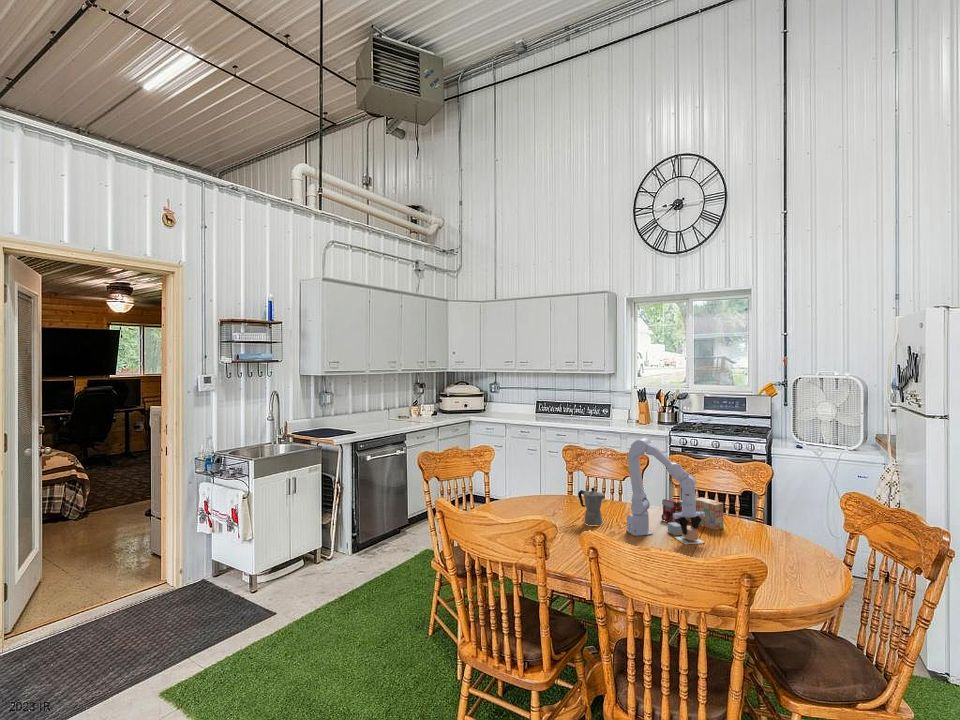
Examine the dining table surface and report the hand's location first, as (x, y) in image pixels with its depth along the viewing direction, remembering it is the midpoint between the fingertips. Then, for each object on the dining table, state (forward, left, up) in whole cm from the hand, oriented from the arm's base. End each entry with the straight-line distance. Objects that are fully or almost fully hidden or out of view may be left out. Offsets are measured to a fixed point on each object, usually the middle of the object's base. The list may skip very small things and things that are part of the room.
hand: (689, 533), depth 224 cm
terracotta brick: (0, 0, -2) cm, 2 cm away
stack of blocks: (+20, +22, -4) cm, 30 cm away
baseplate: (0, 0, -3) cm, 3 cm away
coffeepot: (-33, +33, -3) cm, 46 cm away
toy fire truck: (+8, +27, -3) cm, 29 cm away
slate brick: (-1, +11, -3) cm, 11 cm away
